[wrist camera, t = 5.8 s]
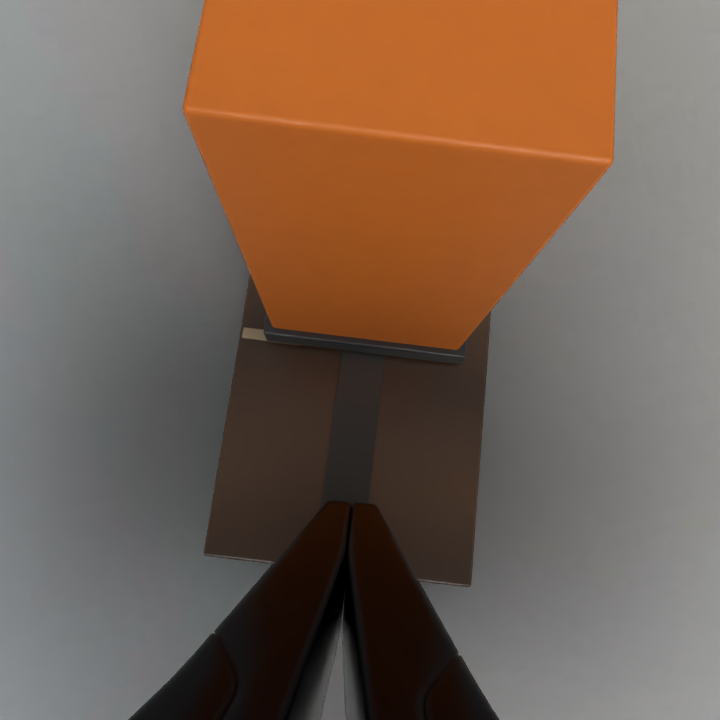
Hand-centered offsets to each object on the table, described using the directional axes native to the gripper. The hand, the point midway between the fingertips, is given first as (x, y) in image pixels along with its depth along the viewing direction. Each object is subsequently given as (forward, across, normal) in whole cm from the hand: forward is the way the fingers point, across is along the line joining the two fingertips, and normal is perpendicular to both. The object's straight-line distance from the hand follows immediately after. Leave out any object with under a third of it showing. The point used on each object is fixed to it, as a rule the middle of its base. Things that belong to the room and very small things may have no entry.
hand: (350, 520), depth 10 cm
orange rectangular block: (+8, 0, +1) cm, 9 cm away
